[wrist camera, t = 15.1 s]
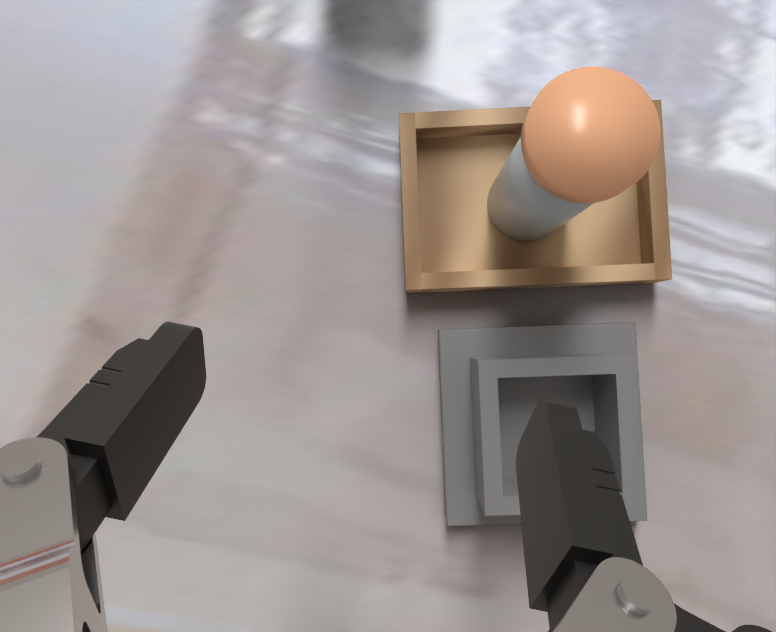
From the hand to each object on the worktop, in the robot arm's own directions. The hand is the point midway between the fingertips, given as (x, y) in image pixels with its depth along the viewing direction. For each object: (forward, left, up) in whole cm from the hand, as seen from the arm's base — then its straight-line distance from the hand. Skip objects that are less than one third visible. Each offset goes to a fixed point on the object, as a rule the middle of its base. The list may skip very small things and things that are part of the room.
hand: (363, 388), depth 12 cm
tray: (+9, +10, -21) cm, 25 cm away
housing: (+9, -4, -21) cm, 23 cm away
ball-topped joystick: (+9, +9, -20) cm, 24 cm away
